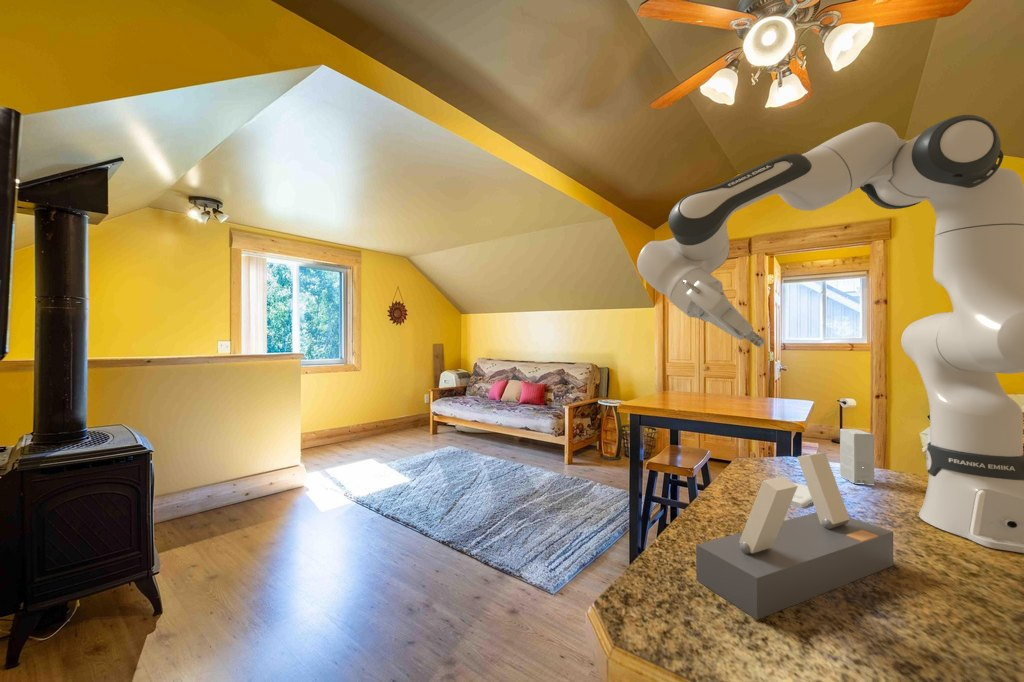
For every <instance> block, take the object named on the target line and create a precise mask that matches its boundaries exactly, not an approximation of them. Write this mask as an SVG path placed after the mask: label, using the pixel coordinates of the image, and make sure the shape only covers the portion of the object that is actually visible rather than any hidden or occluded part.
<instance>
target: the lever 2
mask: <svg viewBox="0 0 1024 682" xmlns="http://www.w3.org/2000/svg"><path fill="white" fill-rule="evenodd" d="M797 460H798V463H799V466H800V470H801V472H802V474H803V475H802V476H803V477H804V481H805V482H806V486H808V489H809V492H810V495H811V498H812V500H813V503H812V504H813V506H814V509H815V511H816V512H817V515H818V518H819V521H820V523H821V524H822V525H823V527H824V528H826V529H831V528H834V527H838V526H841V525H844V524H847V523H848V522H849V520H850V518H849V517H850V515H849V514H848V513H849V512H848V510H847V507H846V505H845V502H844V499H843V497H842V495H841V491H840V489H839V487H838V486H839V485H838V484H837V481H836V478H835V475H834V473H833V470H832V468H831V465H830V462H829V458H828V457H827V454H826V452H818V453H811V454H806V455H799V456H797ZM816 512H815V513H816Z"/></svg>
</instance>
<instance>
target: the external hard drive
mask: <svg viewBox="0 0 1024 682" xmlns="http://www.w3.org/2000/svg"><path fill="white" fill-rule="evenodd" d="M791 482H792V481H791ZM792 483H794V484H795V485H797V486H798V487H797V489H796V492H795V494H794V497H793V499H792V501H791V504H790V506H793V507H796V508H800V509H803V508H805V507H807V506H809V505H810V503H811V504H813V503H812V502H813V500H812V498H811V495H810V492H809V489H808V486H807V484H805V485H804V484H801V483H797V482H792ZM808 504H809V505H808Z"/></svg>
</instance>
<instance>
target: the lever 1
mask: <svg viewBox="0 0 1024 682" xmlns="http://www.w3.org/2000/svg"><path fill="white" fill-rule="evenodd" d="M794 483H795V482H793V483H792V481H791V480H790V479H788V478H787V477H785V476H778V477H773V478H769V479H768V478H767V479H763V480H762V482H761V485H760V487H759V490H758V492H757V494H756V498H755V499H754V502H753V505H752V507H751V510H750V512H749V516H748V518H747V521H746V523H745V525H744V528H743V531H742V532H743V533H742V536H741V538H740V541H739V542H740V549H741V551H742V552H743V553H745V554H748V553H755V552H759V551H762V550H765V549H769V548H772V546H773V544H774V542H775V539H776V537H777V535H778V532H779V530H780V527H781V525H782V523H783V521H785V519H786V518H785V517H787V516H786V515H787V513H788V511H789V508H790V506H791V505H790V504H791V501H792V499H793V497H794V494H795V492H796V489H797V487H798V486H797V485H795V484H794Z"/></svg>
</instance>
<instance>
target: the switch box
mask: <svg viewBox="0 0 1024 682" xmlns="http://www.w3.org/2000/svg"><path fill="white" fill-rule="evenodd" d="M849 518H850V520H849V522H848V523H847V524H844V525H841V526H838V527H834V528H831V529H826V528H824V527H823V525H822V524H821V523H820V521H819V518H818V515H817V512H811V513H809V514H804V515H802V516H801V515H800V516H798V517H794V518H790V519H786V520H783V523H782V525H781V527H780V530H779V532H778V535H777V537H776V539H775V542H774V544H773V546H772V548H769V549H765V550H762V551H759V552H755V553H748V554H745V553H743V552H742V551H741V549H740V542H739V541H740V538H741V536H742V533H743V531H742V532H738V533H734V534H731V535H727V536H723V537H719V538H716V539H711V540H708V541H704V542H700V543H697V544H696V545H695V547H696V548H695V555H696V556H695V561H696V562H695V564H696V565H695V567H696V568H695V569H696V570H695V571H696V574H695V576H696V578H695V579H696V580H695V581H696V582H698V583H700V584H701V585H703V586H704V587H706V588H707V589H709V590H711V591H712V592H713V593H715V594H716V595H718V596H720V597H721V598H723V599H724V600H726V601H728V602H729V603H730V604H732V605H733V606H736V608H738V609H739V610H740V611H741V610H742V612H745V613H746V614H747V615H749V616H751V617H752V618H754V619H755V620H761V619H762V618H766V617H768V616H771V615H773V614H776V613H778V612H779V611H783V610H786V609H787V608H790V607H792V606H796V605H798V604H800V603H803V602H805V601H808V600H811V599H813V598H815V597H818V596H820V595H824V594H825V593H828V592H830V591H833V590H835V589H838V588H840V587H843V586H845V585H848V584H850V583H853V582H855V581H858V580H861V579H863V578H866V577H867V576H870V575H873V574H875V573H878V572H880V571H884V570H885V569H888V568H891V567H893V566H894V531H892V530H890V529H886V528H883V527H881V526H877V525H874V524H872V523H869V522H865V521H862V520H859V519H856V518H853V517H850V516H849Z"/></svg>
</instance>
